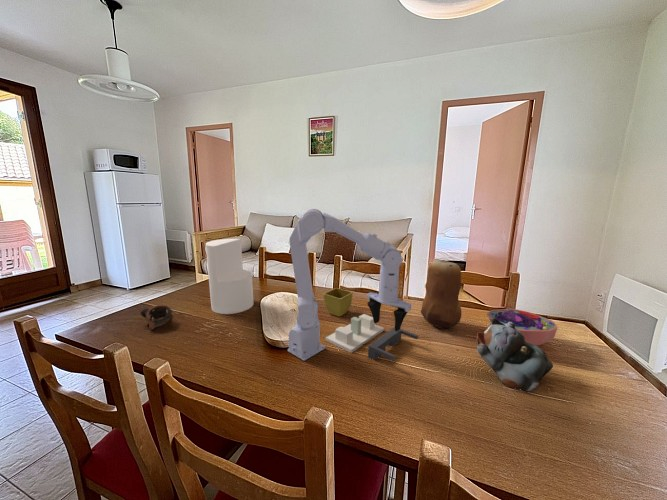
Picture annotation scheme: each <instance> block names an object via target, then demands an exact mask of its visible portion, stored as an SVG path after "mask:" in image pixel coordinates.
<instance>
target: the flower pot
mask: <svg viewBox="0 0 667 500" xmlns="http://www.w3.org/2000/svg"><path fill="white" fill-rule="evenodd" d="M353 293H354V292H353V291H349V290H346V289H341V288H338V287H335V288H333V289H331V290H329V291H326V292H324V293H323V299H324V306H325V308H326V310H327V312H328V314H330V315H333V316H335V317H342V316H343V315H344V314H346V313H347V312H348V311H349V309H350V307H351V304H352V299H353Z"/></svg>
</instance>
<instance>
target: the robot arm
mask: <svg viewBox="0 0 667 500" xmlns="http://www.w3.org/2000/svg"><path fill="white" fill-rule="evenodd" d="M322 231H323V232H324V233H332V232H334V233H336V234H338V235H339V236H342V237H344V238H346V239H348V240H350V241H351V242H354V243H355V244H357V247H358V250H359V251H361V252H363V253H364V254H366V255H368V256H370V257H371V258H373V259H375V260H378V261H381V262H380V269H379V286H378V287H379V288H378V293H376V292H371V291H370V292H368V293H367V294H366V300H368V301H367V306H368V308H369V310H370V313H371V315H372V316H371V317H373V320H374V323H375V324H377V323H379V322H380V319H381V317H380V316H381V309H382V308H381V307H382V304H383V305H385V306H391V307H394V308H396V309H395V310H394V311H393V316H394V327H395V331H398V330H400V329H402V324H403V321H404V319H405V317H406V316H407V314H408V313H409V312H410V311H411V310H412V303H409V302H406V301H405V300H403V299H400V298H399V297H398V296H399V282H400V280H399V278H400V266H401V264H403V260H404V258H403V256H402V253H401V251H399V250H398V249H397V248H396V247H395V246H394V245H392V244H391V243H390V242H389V241H384V240H382V239H380V238H378V237H377V236H378V235H377V234H376V233H374V232H372V233H370V232H366V233H360V231H358V230H356V229H354V228H353V227H352V226H350V225H348V224H346V223H344V222H343V221H341V219H338V218H336V217H335V216H333V215H330V214H328V213H326V212H321V210H319V209H317V208H312V209H309V210H307V211H305V213H303V215H302V216H300V218H299V219H298V220H297V222H296V224H295V227H294V228H293V231H292V233H291V234H290V236H289V240H288V241H289V247H290V255H291V262H292V268H293V273H294V281H295V287H296V293H297V309H298V310H297V315H296V324H295V325H294V327H293V328H292V329H290V330H289V333H288V348H287V352H288V353H291V355H294V356H296V357H297V358H299V359H300V360H302V361H304V362H305V361H307V360H308V359H310V358H311V357H312V358H313V356H315V355H317V354H319V353H320V352H321V351H323V350H325V349H326V346H325V345H324V344H323V343H322V344H321V341H320V340H321V339H320V338H321V336H320V335H321V333H320V331H321V330H320V328H321V327H320V326H321V321H320V319H319V317H318V316H319V312H318V311H319V303H318V302H317V300H316V299H315V294H314V290H313V284H312V277H311V270H310V269H311V268H310V262H309V256H308V255H309V254H308V249H307V248H308V247H307V243H308V242H310V240H311V238H313V236H316V235H317V234H319V233H320V232H322Z"/></svg>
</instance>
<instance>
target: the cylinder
mask: <svg viewBox="0 0 667 500" xmlns="http://www.w3.org/2000/svg"><path fill="white" fill-rule="evenodd" d="M242 249H243V248H242V238H223V239H214V240H210V241H208V242H206V243H205V252H206V263H207V264H206V266H207V274H208V284H209V296H210V304H211V305H210V307H211V308H210V309H211V311H212V312H214V313H216V314H221V315H231V314H232V315H234V314H238V313H242V312H246V311H247V310H249V309H251V308H252V307H253V306H254V303H255V302H254V288H253V274H252V272H251V271H250V270H247V269H243V268H244V267H243V266H244V263H243V250H242Z"/></svg>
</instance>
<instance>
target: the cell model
mask: <svg viewBox="0 0 667 500" xmlns="http://www.w3.org/2000/svg"><path fill="white" fill-rule="evenodd" d="M486 316H487V318H488V320H489V321H490V323H491V322H492V319H497V320H498V321H500V322H501V323H502V324H504V325H505V324H507V323H508V322H512V323H513V324H514V326H515V329H517V330H518V331H520V332H521V333H522V335H523V336H524V338H525V341H526V342H527V343H530V344H534V345H536V346H538V347H539V346H540V345H543V344H546V343H548V342H550V341H552V340H553V339H554V338H555V336H556V334H557V331H558V328H559V327H558V325H557V324H556V322H555V321H553V320H551V319H548V317H547V318H546V317H544V316H541V315H538V314H535V313H534V312H530V311H525V310H523V309H522V310H521V309H517V308H502V309H491V310H488V312H487V313H486Z"/></svg>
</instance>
